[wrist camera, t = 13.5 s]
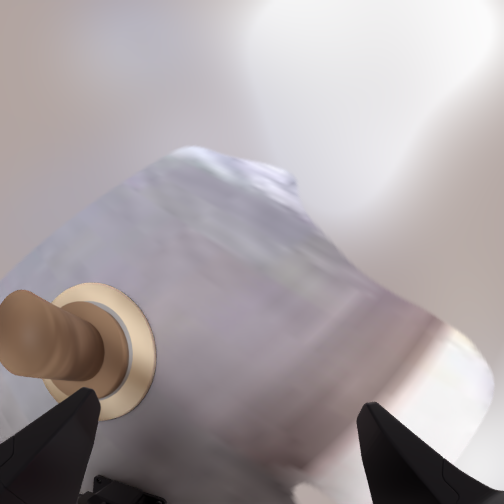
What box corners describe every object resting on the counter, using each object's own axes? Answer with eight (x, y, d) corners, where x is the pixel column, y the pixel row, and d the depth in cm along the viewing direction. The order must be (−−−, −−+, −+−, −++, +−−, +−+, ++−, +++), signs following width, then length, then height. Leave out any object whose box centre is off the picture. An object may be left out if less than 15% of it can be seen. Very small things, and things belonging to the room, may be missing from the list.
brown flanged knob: (122, 411, 18) (60, 424, 9) (45, 382, 17) (-26, 373, 9) (136, 315, 21) (84, 276, 13) (60, 298, 21) (-2, 257, 13)
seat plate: (142, 439, 18) (130, 446, 15) (32, 388, 18) (13, 387, 15) (170, 303, 23) (162, 292, 20) (61, 274, 23) (45, 261, 20)
